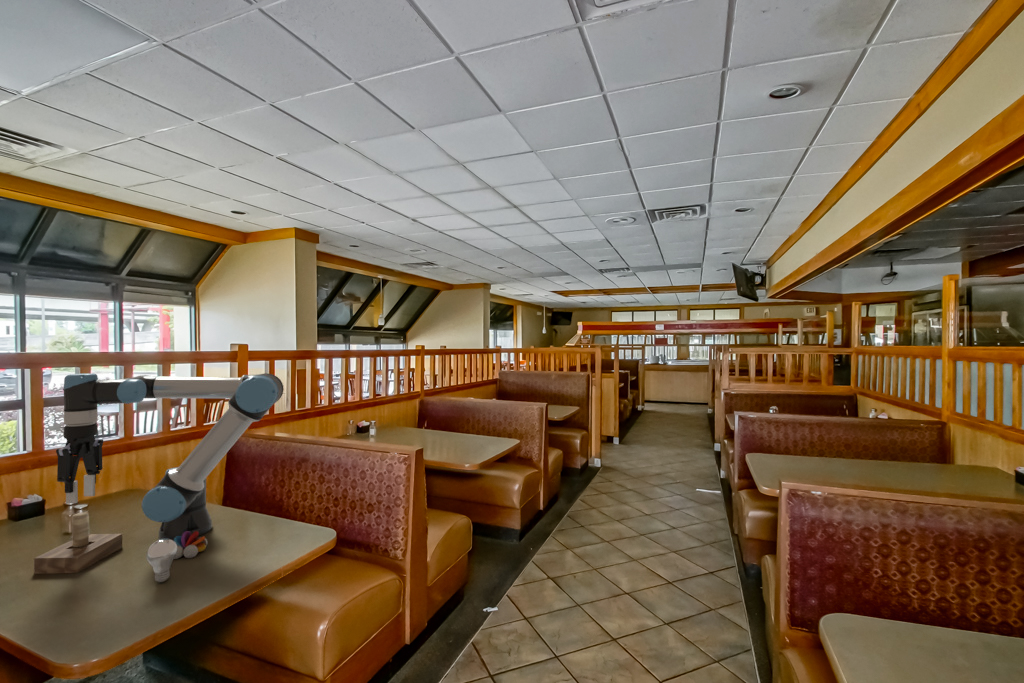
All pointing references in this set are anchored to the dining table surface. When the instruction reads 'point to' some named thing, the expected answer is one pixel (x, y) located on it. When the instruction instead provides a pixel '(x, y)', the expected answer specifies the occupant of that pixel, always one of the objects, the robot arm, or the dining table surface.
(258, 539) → the dining table surface
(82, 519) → the dowel
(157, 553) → the light bulb
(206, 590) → the dining table surface
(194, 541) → the rainbow fan toy
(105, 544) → the board
